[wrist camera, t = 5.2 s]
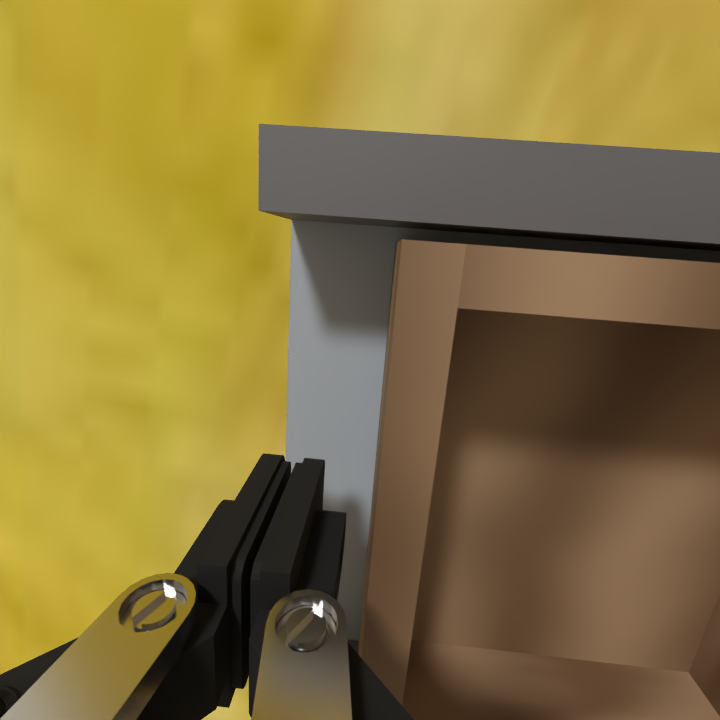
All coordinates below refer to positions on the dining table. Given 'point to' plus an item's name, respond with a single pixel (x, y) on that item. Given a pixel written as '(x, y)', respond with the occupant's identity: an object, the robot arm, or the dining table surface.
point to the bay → (438, 224)
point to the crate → (547, 487)
